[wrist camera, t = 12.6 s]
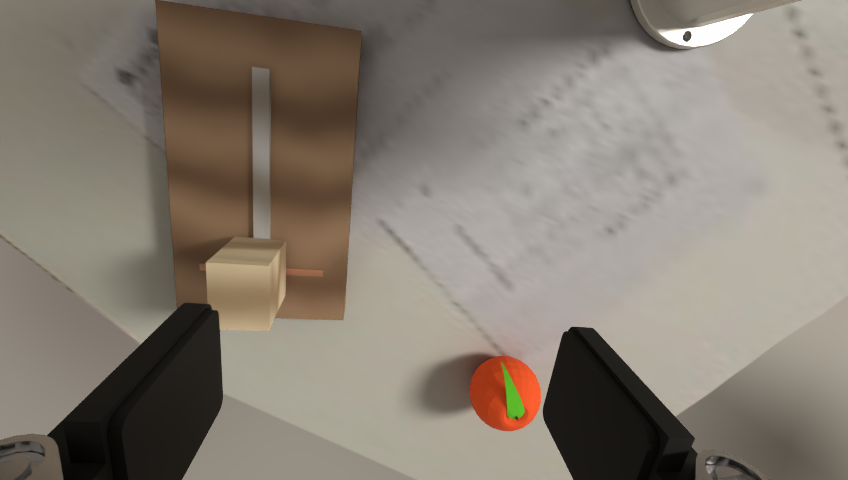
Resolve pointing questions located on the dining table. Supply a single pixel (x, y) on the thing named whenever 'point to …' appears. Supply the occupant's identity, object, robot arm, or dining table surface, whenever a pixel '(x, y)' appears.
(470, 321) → the dining table surface
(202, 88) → the board
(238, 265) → the block
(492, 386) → the clementine
